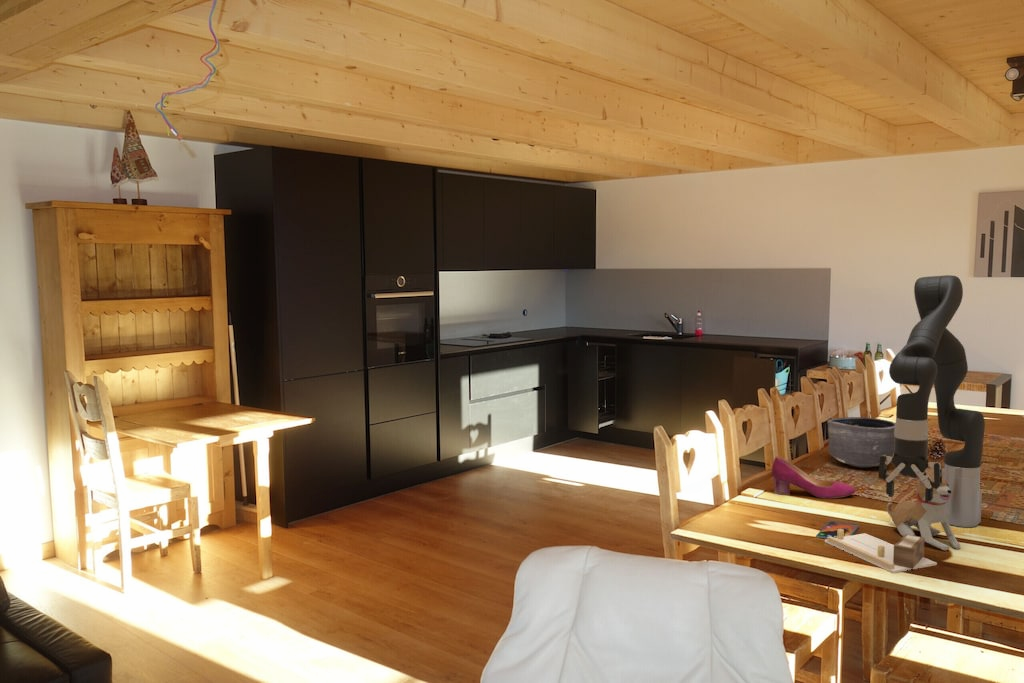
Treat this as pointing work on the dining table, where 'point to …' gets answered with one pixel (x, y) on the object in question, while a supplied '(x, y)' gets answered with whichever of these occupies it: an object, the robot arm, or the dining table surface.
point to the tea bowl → (860, 440)
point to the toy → (925, 514)
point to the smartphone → (834, 526)
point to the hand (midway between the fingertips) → (909, 499)
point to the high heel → (805, 482)
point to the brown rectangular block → (908, 551)
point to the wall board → (872, 551)
